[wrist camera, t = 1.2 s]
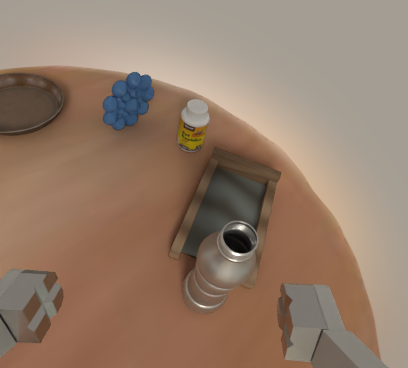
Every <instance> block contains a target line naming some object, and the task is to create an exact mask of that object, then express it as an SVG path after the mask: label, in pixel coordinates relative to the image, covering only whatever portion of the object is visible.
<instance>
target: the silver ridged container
mask: <svg viewBox="0 0 408 368" xmlns="http://www.w3.org/2000/svg"><path fill="white" fill-rule="evenodd" d="M258 241H259V239H258V235H257V232H256V230H255V229H254V228H253V227H252V226H251V225H250V224H248V223H246V222H243V221H232V222H229V223H228V224H226V225H225V226H224V228H223V229H222V230H220V231H217V232H214V233H213V234H211V235H209V236H208V237H206V238H205V239H204V240H203V242H202V243H201V245H200V247H199V249H198V253H197V259H196V266H195V268H194V269H193V270H192V271H190V272H189V273H188V274H187V276H186V277H185V279H184V281H183V284H182V297H183V300H184V302H185V304H186V305H187V307H188V308H189V309H191V310H192V311H194V312H196V313H199V314H208V313H212V312H215V311H217V310H218V309H220V308H221V307H222V305H223V304H224V303H225V301H226V299H227V296H228V293H229V292H230V291H231V290H232V289H234V288H236V287H238V286H240V285H242V284H243V283H245V282H246V281H247V280H248V279H249V278H250V277H251V276H252V274H253V272H254V269H255V264H256V254H255V250H256V248H257V246H258Z"/></svg>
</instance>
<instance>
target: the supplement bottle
mask: <svg viewBox="0 0 408 368" xmlns="http://www.w3.org/2000/svg"><path fill="white" fill-rule="evenodd" d="M207 111H208V106H207V104H206V103H205V102H204V101H202V100H198V99H193V100H190V101H189V102H188V103H187V107H185V108H184V109H183V110H182V113H181V118H180V124H179V130H178V136H177V144H178V146H179V147H180V148H181V149H182V150H184V151H187V152H196V151H198V150H199V149H201V147H202V145H203V141H204V138H205V134H206V131H207V127H208V123H209V119H210V117H209V114H208V112H207Z"/></svg>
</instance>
